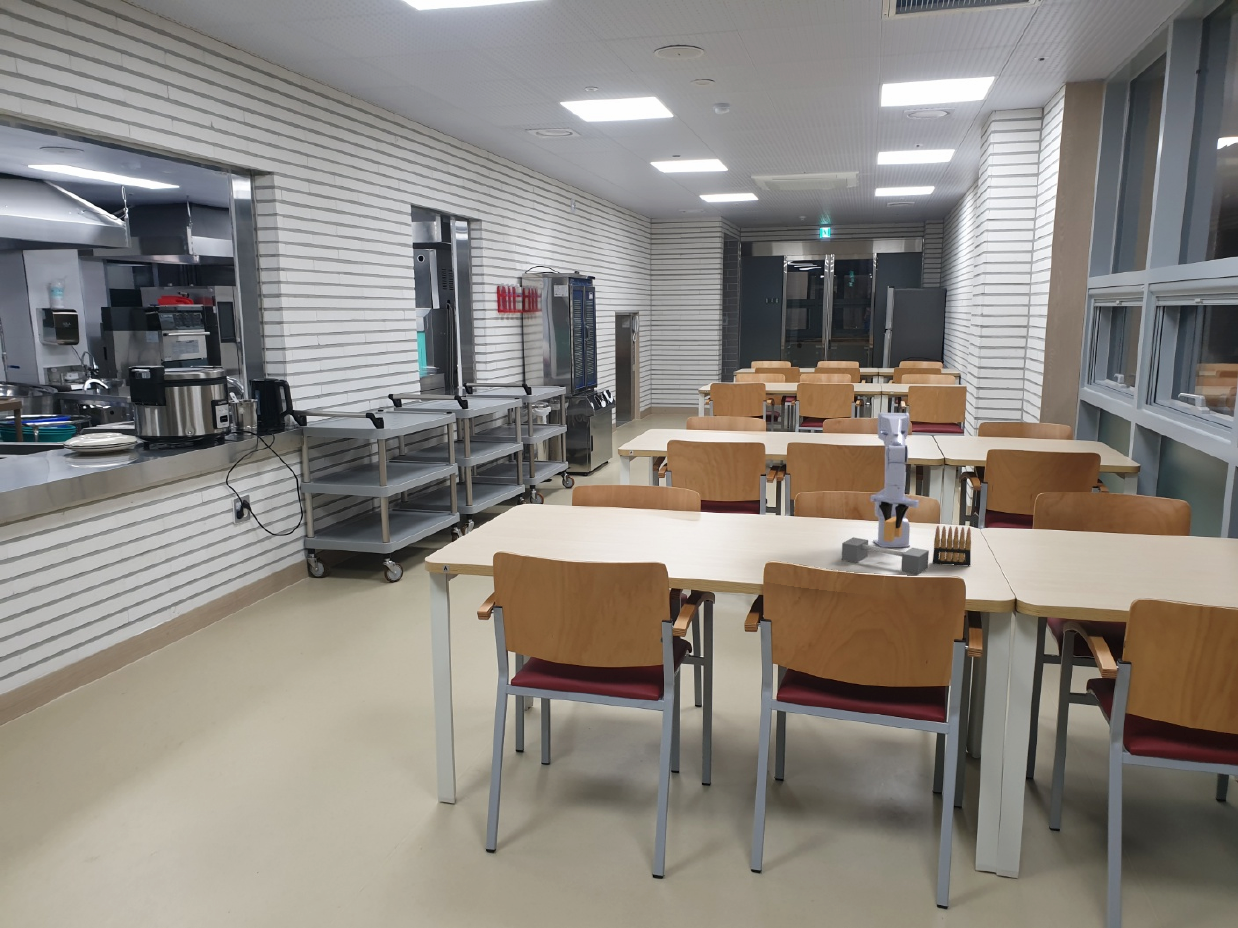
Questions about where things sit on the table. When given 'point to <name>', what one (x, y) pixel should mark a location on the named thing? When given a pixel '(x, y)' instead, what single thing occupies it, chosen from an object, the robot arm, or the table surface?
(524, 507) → the table surface
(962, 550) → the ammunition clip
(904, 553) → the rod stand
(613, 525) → the table surface
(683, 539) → the table surface
